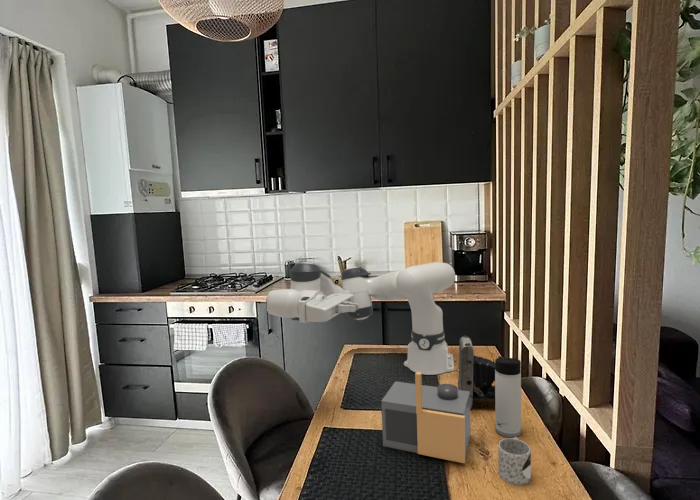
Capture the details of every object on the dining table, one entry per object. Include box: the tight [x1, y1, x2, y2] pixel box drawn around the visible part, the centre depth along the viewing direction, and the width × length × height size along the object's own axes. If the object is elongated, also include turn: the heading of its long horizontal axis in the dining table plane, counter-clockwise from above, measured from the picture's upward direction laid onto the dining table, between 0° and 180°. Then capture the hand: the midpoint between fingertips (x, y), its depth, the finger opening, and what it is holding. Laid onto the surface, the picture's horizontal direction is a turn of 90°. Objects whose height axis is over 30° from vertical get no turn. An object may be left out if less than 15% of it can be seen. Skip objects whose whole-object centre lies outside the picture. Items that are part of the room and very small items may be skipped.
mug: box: [497, 436, 532, 486], centre depth 92 cm, size 10×7×7 cm
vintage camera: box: [457, 335, 504, 409], centre depth 122 cm, size 10×16×20 cm, turn 79°
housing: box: [380, 381, 471, 458], centre depth 104 cm, size 12×20×14 cm, turn 67°
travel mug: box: [494, 357, 522, 438], centre depth 106 cm, size 6×7×20 cm
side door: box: [414, 372, 466, 464], centre depth 95 cm, size 2×11×20 cm, turn 67°
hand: (356, 307), depth 116 cm, fingers closed
